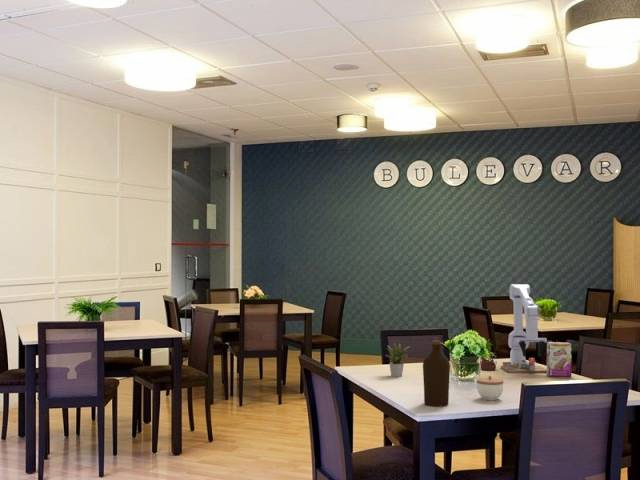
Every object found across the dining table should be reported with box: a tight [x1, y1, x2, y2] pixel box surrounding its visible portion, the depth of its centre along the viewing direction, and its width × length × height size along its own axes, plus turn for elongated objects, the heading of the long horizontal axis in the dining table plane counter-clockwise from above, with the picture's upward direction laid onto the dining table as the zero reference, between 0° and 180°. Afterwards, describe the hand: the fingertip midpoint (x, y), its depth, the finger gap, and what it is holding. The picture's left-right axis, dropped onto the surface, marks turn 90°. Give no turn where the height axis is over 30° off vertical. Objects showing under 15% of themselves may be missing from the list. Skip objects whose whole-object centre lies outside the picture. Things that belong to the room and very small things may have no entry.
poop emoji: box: [480, 357, 498, 372], centre depth 367 cm, size 10×8×9 cm
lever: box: [520, 357, 536, 371], centre depth 362 cm, size 16×5×6 cm, turn 1°
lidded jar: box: [476, 375, 504, 401], centre depth 290 cm, size 11×11×9 cm
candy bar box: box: [546, 341, 573, 378], centre depth 348 cm, size 11×5×16 cm, turn 84°
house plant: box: [384, 342, 411, 378], centre depth 344 cm, size 14×14×16 cm
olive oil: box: [422, 339, 451, 407], centre depth 279 cm, size 11×11×25 cm
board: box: [500, 361, 547, 374], centre depth 364 cm, size 15×20×4 cm
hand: (531, 356), depth 356 cm, fingers open, 7 cm apart
